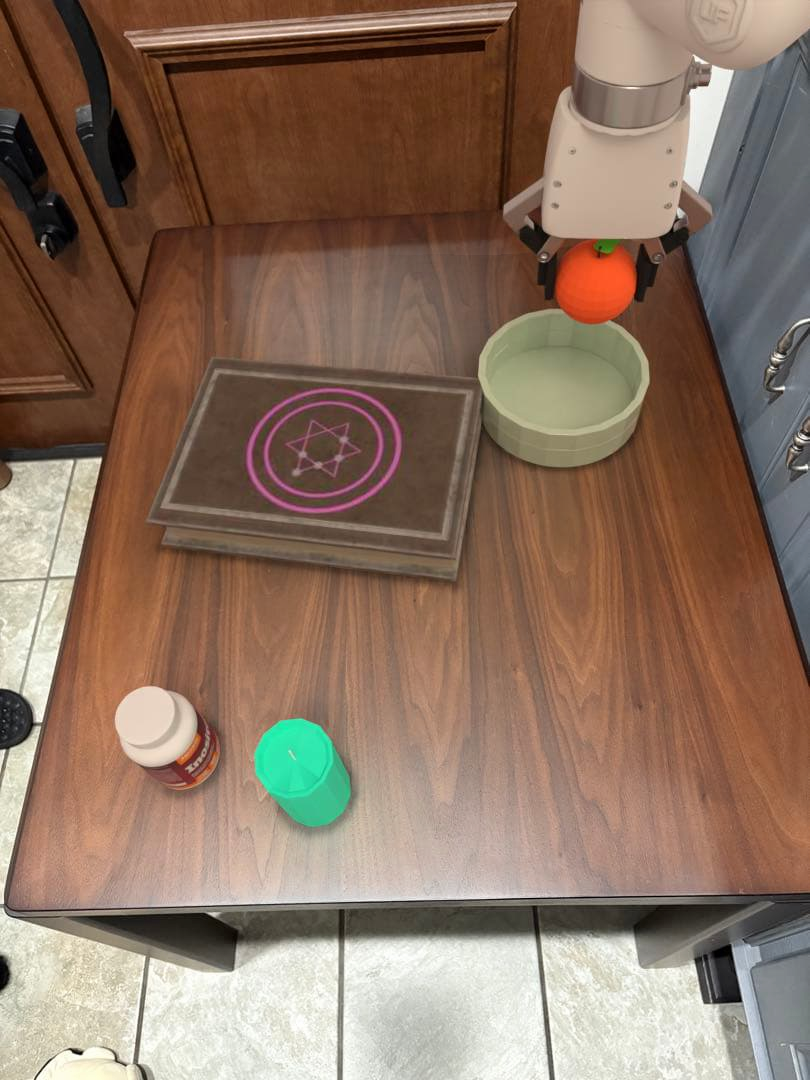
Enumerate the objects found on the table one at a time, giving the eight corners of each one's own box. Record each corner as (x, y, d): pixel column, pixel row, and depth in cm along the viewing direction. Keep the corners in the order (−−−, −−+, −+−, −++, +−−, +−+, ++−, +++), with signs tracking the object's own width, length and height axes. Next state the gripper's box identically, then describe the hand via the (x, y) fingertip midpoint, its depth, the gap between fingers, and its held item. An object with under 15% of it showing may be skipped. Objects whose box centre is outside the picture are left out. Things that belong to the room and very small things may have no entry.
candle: (272, 773, 69) (238, 731, 58) (336, 744, 70) (314, 698, 59) (295, 839, 66) (263, 807, 56) (361, 809, 67) (342, 772, 56)
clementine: (584, 268, 73) (594, 201, 67) (651, 298, 71) (667, 231, 65) (534, 320, 70) (540, 254, 64) (602, 353, 68) (615, 288, 62)
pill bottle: (214, 793, 68) (174, 757, 59) (145, 789, 69) (94, 754, 59) (227, 722, 71) (191, 678, 62) (161, 719, 72) (115, 675, 63)
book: (162, 546, 82) (145, 521, 77) (224, 383, 93) (212, 352, 88) (456, 582, 77) (455, 557, 73) (485, 405, 88) (485, 374, 84)
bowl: (636, 346, 91) (645, 310, 86) (643, 471, 82) (653, 438, 78) (482, 342, 93) (483, 306, 88) (473, 463, 84) (473, 431, 80)
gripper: (755, 51, 54) (692, 262, 70) (500, 55, 56) (493, 259, 72) (769, 115, 51) (700, 323, 66) (496, 117, 52) (490, 319, 68)
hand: (592, 288), depth 69 cm, fingers closed on clementine, 7 cm apart
